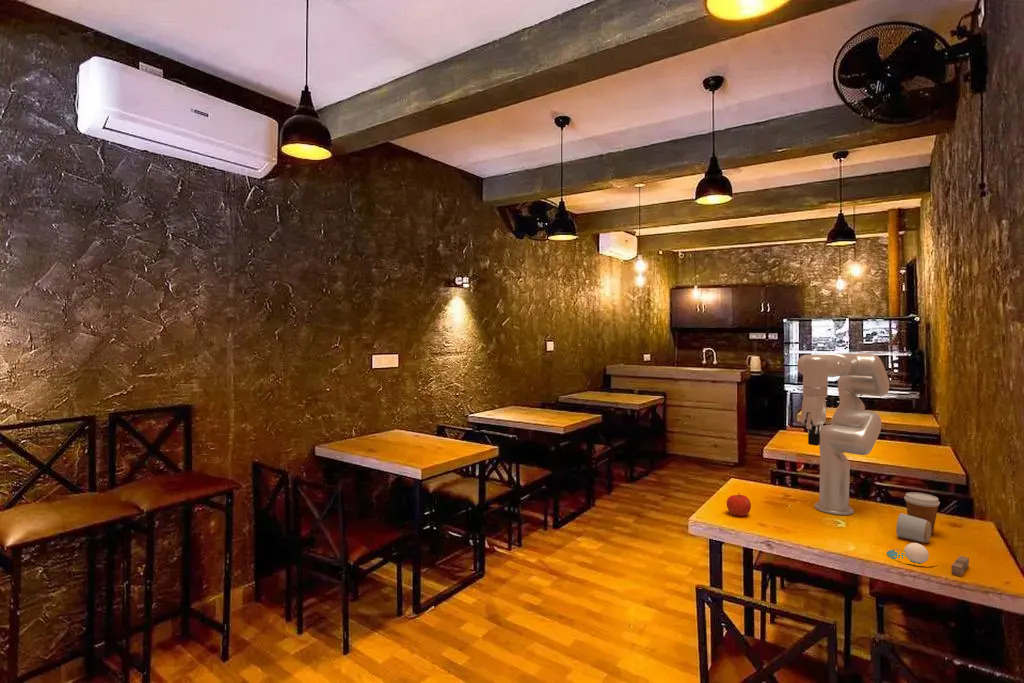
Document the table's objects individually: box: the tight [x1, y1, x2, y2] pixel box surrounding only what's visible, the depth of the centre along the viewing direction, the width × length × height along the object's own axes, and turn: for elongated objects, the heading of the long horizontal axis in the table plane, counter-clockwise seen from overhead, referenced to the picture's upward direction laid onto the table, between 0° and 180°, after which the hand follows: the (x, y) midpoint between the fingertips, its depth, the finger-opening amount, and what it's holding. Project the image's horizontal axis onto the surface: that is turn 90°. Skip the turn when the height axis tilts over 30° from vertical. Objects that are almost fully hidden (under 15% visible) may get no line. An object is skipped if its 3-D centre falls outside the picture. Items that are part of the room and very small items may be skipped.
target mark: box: [886, 549, 906, 560], centre depth 159 cm, size 12×12×1 cm
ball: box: [903, 542, 930, 564], centre depth 156 cm, size 6×6×6 cm
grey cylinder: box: [895, 512, 932, 544], centre depth 175 cm, size 11×8×8 cm
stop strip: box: [950, 555, 970, 577], centre depth 151 cm, size 10×2×2 cm, turn 130°
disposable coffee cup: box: [903, 492, 941, 536], centre depth 180 cm, size 10×10×12 cm
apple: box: [726, 492, 752, 517], centre depth 196 cm, size 8×8×8 cm
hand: (813, 444), depth 188 cm, fingers closed
